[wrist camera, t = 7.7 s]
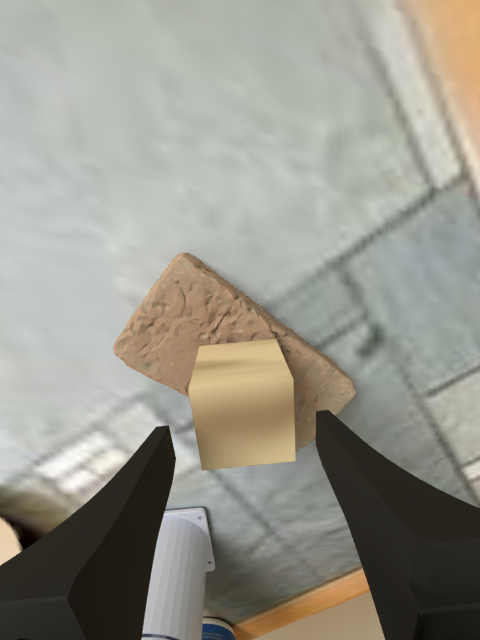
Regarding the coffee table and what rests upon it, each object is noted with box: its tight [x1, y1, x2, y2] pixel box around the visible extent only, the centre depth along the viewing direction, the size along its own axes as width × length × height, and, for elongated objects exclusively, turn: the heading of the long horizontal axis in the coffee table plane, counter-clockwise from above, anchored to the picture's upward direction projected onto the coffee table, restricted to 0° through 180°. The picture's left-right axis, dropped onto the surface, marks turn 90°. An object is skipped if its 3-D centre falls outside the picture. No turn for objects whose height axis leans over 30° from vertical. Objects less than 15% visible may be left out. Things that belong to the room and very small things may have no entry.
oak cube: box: [188, 339, 296, 470], centre depth 16 cm, size 5×5×5 cm
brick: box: [113, 253, 356, 452], centre depth 20 cm, size 17×8×5 cm, turn 52°
